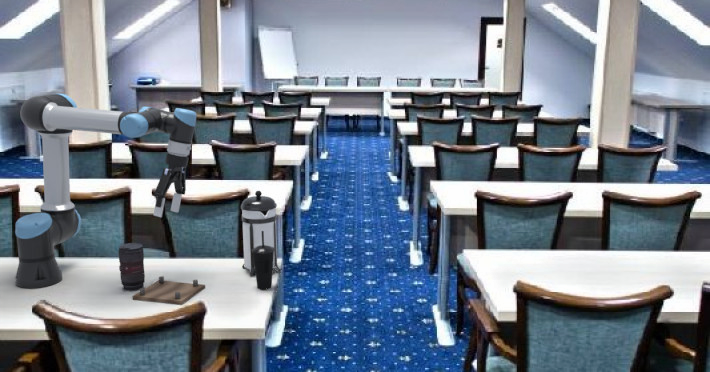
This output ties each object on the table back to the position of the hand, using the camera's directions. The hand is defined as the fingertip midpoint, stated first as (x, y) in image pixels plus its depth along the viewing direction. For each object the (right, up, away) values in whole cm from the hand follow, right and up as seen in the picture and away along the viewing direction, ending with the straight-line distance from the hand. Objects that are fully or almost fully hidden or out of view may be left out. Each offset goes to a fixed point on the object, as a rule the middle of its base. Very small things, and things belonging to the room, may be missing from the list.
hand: (166, 213), depth 250 cm
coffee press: (+30, -21, +17) cm, 40 cm away
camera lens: (-11, -26, -1) cm, 28 cm away
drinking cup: (+34, -25, -2) cm, 43 cm away
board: (+3, -26, -7) cm, 28 cm away
